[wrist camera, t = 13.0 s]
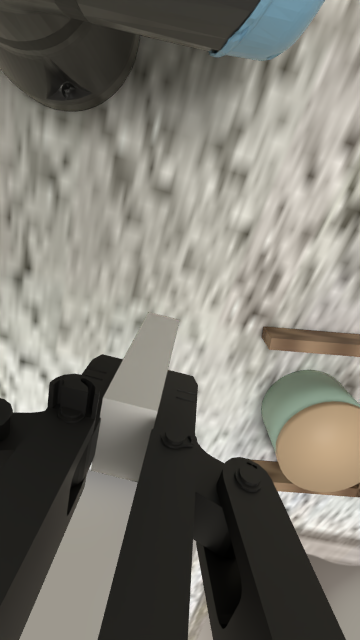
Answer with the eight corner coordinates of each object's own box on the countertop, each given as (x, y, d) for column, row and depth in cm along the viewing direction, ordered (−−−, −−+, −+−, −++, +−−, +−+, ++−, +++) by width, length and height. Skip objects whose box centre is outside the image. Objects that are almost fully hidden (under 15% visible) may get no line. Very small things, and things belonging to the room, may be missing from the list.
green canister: (242, 408, 45) (256, 452, 36) (309, 352, 42) (340, 386, 33) (298, 456, 47) (322, 508, 39) (364, 406, 44) (406, 450, 36)
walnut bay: (238, 466, 48) (243, 488, 44) (263, 326, 41) (271, 337, 37) (351, 475, 48) (366, 497, 44) (396, 337, 41) (417, 349, 37)
